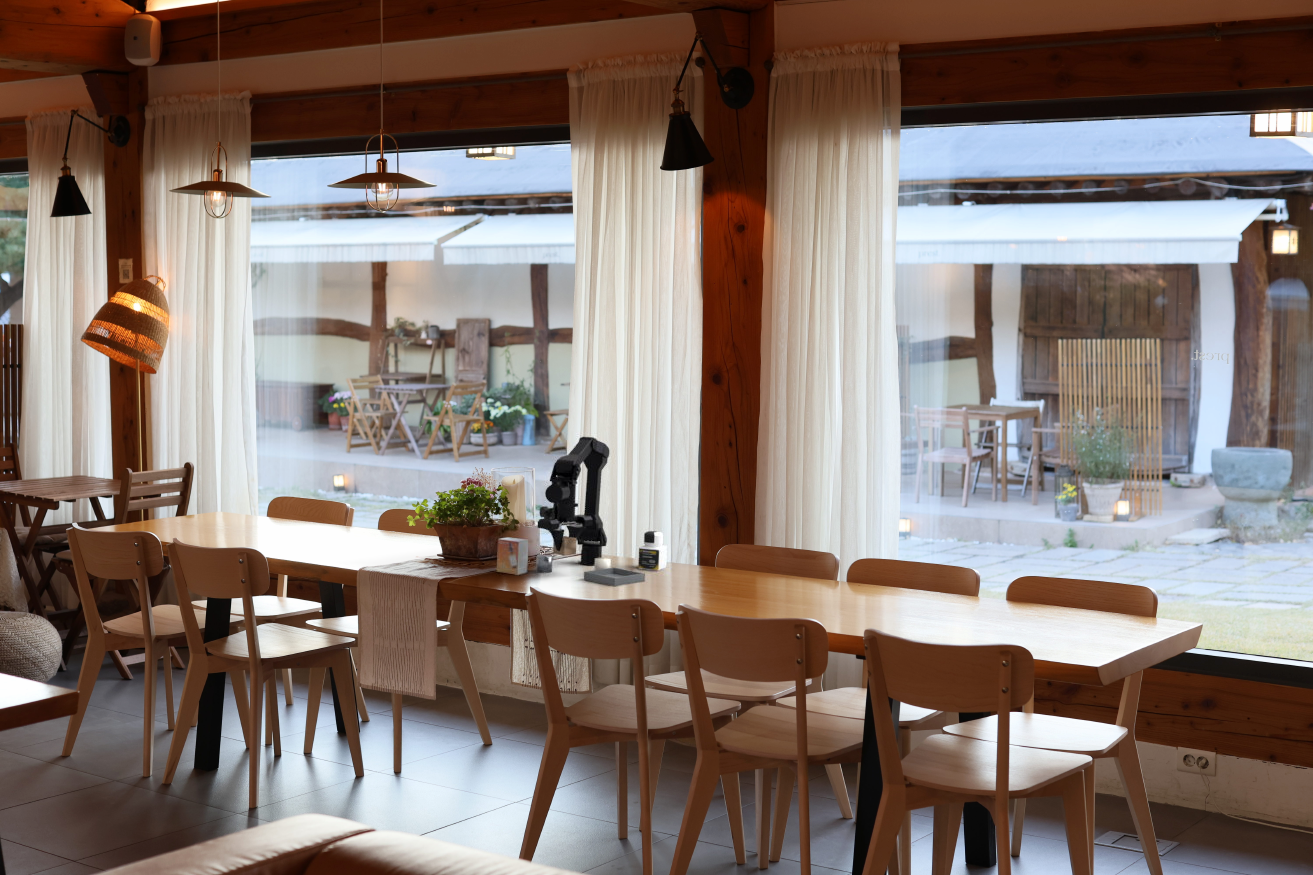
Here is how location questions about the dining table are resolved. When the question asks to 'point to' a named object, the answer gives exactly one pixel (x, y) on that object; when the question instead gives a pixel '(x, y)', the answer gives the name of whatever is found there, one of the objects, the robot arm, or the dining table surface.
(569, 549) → the walnut block
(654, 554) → the medicine bottle
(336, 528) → the dining table surface
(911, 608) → the dining table surface
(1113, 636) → the dining table surface
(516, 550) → the small box
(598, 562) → the ivory round canister
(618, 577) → the gray tray
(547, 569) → the slate cylinder
